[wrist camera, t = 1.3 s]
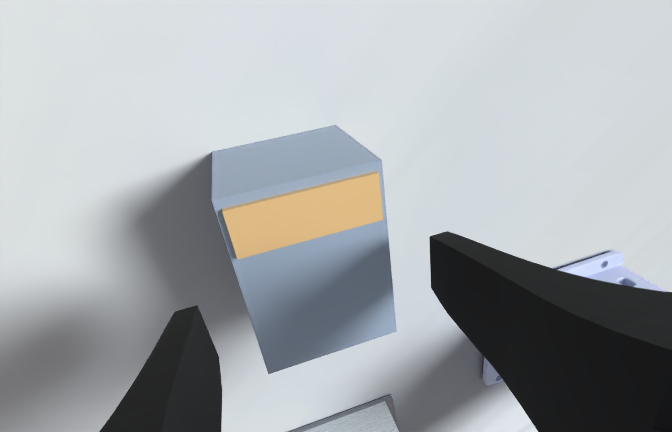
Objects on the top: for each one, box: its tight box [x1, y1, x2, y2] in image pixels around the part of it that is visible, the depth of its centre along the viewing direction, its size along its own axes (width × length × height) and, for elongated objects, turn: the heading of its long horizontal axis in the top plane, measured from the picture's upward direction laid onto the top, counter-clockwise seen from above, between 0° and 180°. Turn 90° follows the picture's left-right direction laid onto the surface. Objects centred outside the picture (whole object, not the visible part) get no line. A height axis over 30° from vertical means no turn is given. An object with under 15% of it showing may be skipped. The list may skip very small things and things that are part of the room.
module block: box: [212, 125, 396, 374], centre depth 14 cm, size 5×7×5 cm
